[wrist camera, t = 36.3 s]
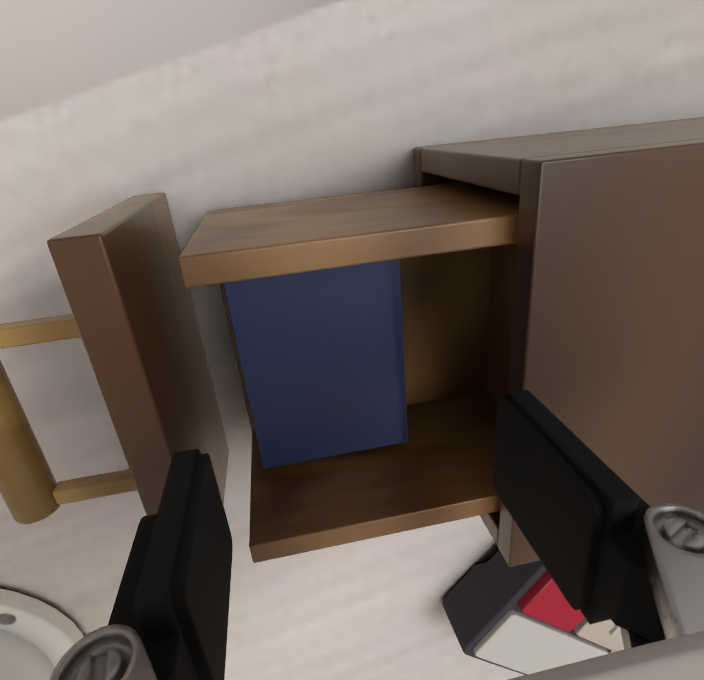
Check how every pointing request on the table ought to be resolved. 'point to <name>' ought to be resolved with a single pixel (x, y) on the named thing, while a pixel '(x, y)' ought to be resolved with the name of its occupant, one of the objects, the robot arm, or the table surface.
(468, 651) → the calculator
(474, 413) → the drawer
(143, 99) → the table surface
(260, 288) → the book
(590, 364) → the cabinet
